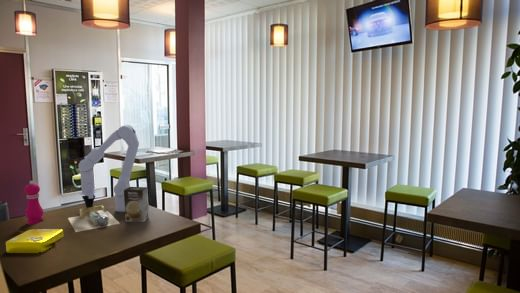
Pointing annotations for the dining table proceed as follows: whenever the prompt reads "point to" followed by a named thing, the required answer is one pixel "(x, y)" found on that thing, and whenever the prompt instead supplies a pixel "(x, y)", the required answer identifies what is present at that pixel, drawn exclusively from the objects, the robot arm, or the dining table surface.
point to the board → (89, 222)
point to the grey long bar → (103, 218)
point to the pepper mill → (33, 204)
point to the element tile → (34, 241)
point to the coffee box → (136, 204)
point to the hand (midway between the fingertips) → (89, 209)
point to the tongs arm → (93, 218)
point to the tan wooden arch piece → (96, 208)
